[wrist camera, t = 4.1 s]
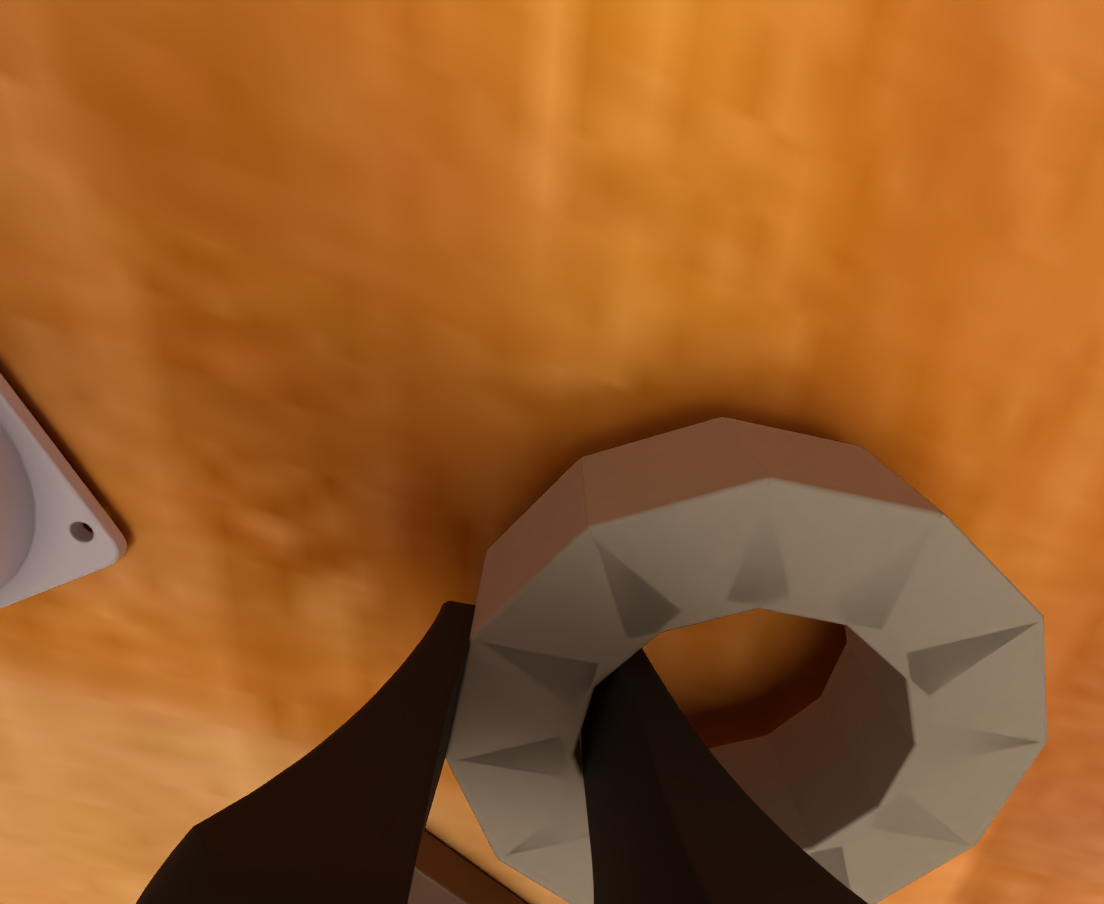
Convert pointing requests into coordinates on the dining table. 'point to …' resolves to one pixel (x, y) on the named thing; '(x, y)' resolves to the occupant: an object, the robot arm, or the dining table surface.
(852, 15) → the dining table surface
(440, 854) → the stand
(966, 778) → the tape roll
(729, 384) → the dining table surface
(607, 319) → the dining table surface
